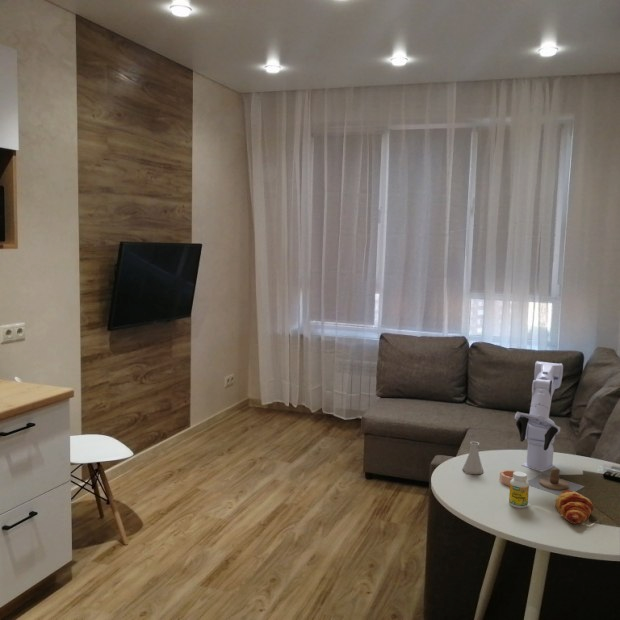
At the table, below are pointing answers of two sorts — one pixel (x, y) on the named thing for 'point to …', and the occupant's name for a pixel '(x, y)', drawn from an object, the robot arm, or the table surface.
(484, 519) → the table surface
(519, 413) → the robot arm
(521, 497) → the supplement bottle
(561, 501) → the croissant
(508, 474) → the bowl
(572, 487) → the mat
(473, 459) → the flask
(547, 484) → the lid
